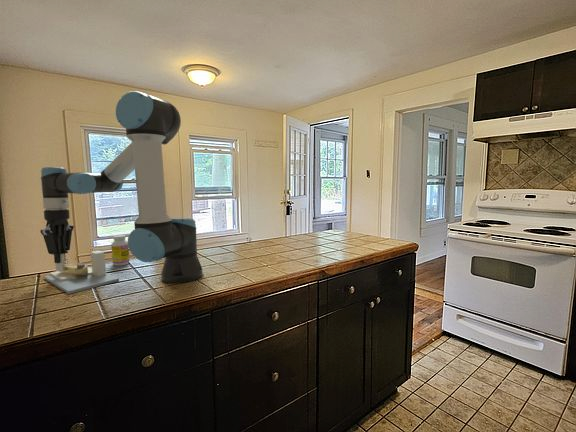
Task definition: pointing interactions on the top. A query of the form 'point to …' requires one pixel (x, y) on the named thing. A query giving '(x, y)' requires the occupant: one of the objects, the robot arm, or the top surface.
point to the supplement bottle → (120, 250)
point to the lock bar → (75, 270)
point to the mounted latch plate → (79, 283)
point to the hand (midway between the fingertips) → (60, 270)
